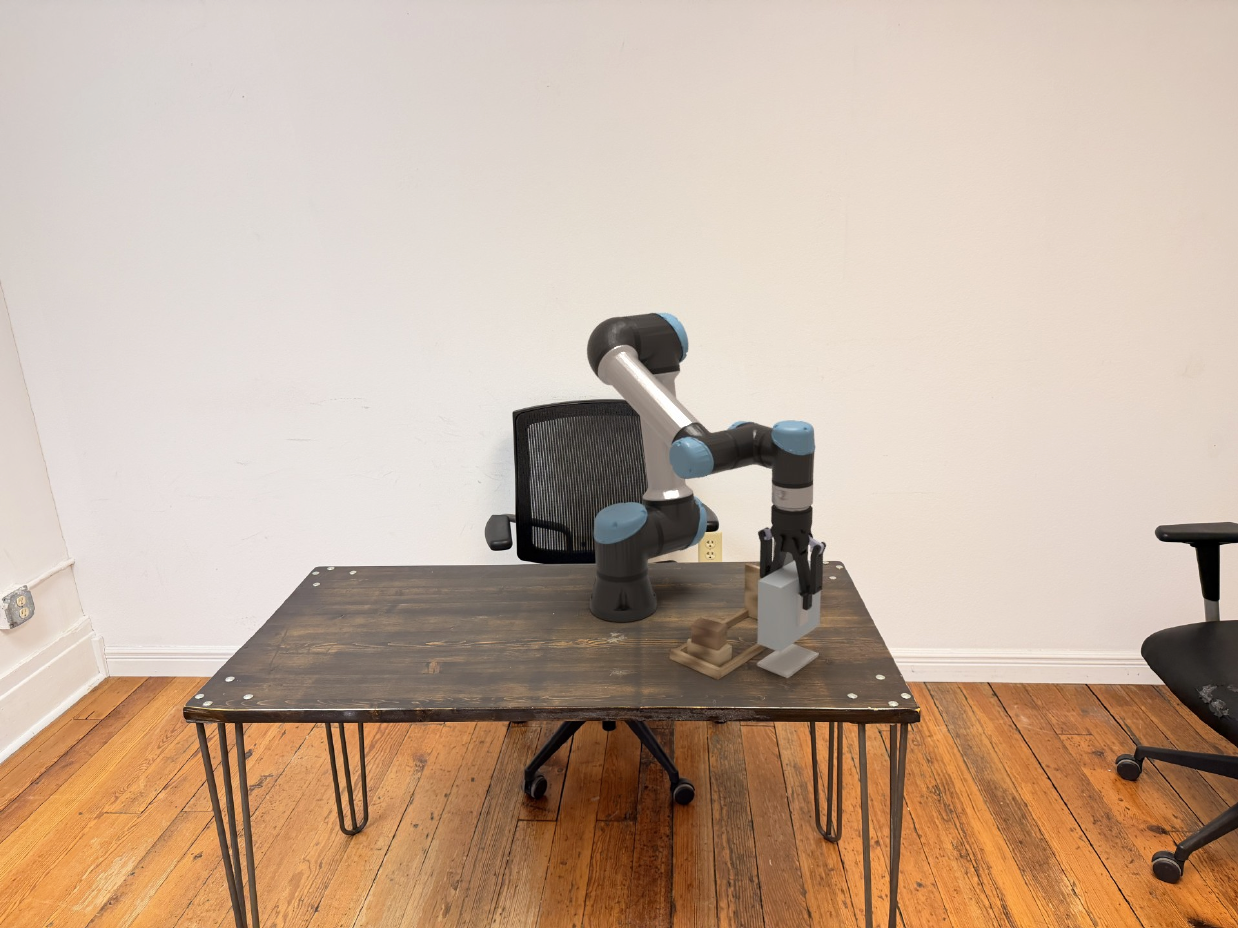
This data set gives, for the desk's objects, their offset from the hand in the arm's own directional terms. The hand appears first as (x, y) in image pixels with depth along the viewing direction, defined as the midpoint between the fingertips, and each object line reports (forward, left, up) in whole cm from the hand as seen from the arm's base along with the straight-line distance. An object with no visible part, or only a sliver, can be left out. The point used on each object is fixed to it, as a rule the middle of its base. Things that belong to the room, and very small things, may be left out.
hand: (789, 618), depth 158 cm
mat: (0, 0, -9) cm, 9 cm away
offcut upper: (-12, -10, -5) cm, 16 cm away
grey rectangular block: (0, 0, -3) cm, 3 cm away
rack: (-12, -1, -9) cm, 15 cm away
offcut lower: (-12, -10, -9) cm, 18 cm away
